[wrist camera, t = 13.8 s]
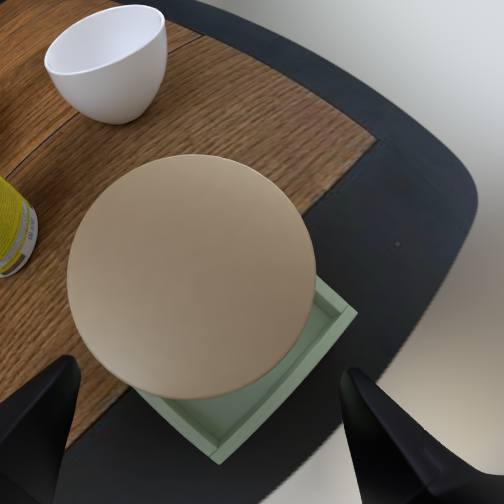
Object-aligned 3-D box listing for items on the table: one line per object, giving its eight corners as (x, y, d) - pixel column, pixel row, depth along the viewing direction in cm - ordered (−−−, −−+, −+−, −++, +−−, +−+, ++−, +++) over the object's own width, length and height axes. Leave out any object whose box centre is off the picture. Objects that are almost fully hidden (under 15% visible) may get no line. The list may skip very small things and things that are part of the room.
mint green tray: (337, 320, 17) (358, 312, 14) (220, 446, 14) (219, 465, 11) (214, 209, 18) (211, 183, 15) (97, 324, 16) (73, 317, 13)
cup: (111, 164, 19) (74, 92, 12) (51, 104, 20) (20, 47, 14) (197, 97, 21) (191, 20, 14) (122, 53, 22) (107, -7, 16)
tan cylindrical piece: (240, 404, 14) (261, 495, 4) (132, 344, 14) (-7, 320, 4) (295, 297, 15) (394, 206, 6) (190, 242, 16) (146, 94, 6)
